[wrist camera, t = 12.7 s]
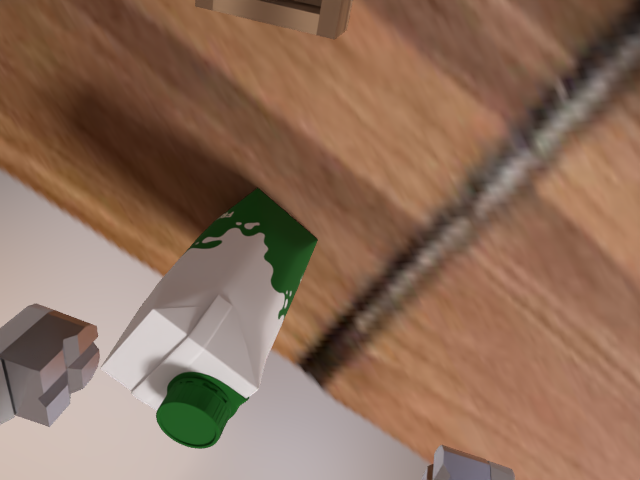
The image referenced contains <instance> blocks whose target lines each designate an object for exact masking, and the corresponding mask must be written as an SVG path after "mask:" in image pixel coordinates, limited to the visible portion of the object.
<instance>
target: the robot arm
mask: <svg viewBox="0 0 640 480" xmlns="http://www.w3.org/2000/svg"><path fill="white" fill-rule="evenodd" d="M97 337H98V333H97V326H95V325H92V324H90V323H87V322H84V321H82V320H79V319H77V318H74V317H71V316H69V315H66V314H63V313H60V312H58V311H55V310H53V309H50V308H47V307H44V306H41V305H39V304H33V305H30V306H28V307H26V308H25V309H24V310H22V311H21V312H20V313H19V314H17V315H16V316H15V317H14V318H13V319H11V320H10V321H9V322H7V323H6V324H5V325H4V326H2V327H1V328H0V424H3V423H5V422H7V421H9V420H10V419H12V418H14V417H15V416H14V415H16V416H19V417H22V418H25V419H28V420H31V421H34V422H37V423H40V424H43V425H46V426H48V427H50V426H51V425H52V424H53V422H54V421H55V420H56V419H57V418H58V417H59V416H60V414H61V413H62V412H63V411H64V410H65V409H66V408H67V406H68V405H69V404H70V395H71V393H73V392H76V391H78V390H81V389H83V388H84V387H85V386H86V385H87V383H88V382H89V381H90V380H91V378H92V376H93V375H94V373H95V371H96V369H97V367H98V363H99V358H100V355H99V349H98V348H97V346H96V345H95V344H94V342H93V341H94V340H95V339H96V338H97ZM422 480H515V474H514V472H513V470H512V469H510V468H508V467H505V466H502V465H499V464H496V463H493V462H490V461H487V460H486V459H483V458H480V457H477V456H474V455H471V454H468V453H465V452H462V451H459V450H456V449H453V448H450V447H447V446H444V445H441V446H439V447H438V449H437V450H436V452H435V454H434V464H432V465H429V466H427V469H426V470H425V473H424V475H423V477H422Z"/></svg>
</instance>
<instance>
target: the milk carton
mask: <svg viewBox="0 0 640 480" xmlns="http://www.w3.org/2000/svg"><path fill="white" fill-rule="evenodd" d="M317 241H318V239H317V238H315V237H314V236H313V235H312V234H311V233H310V232H308V231H307V230H306V229H305V228H304V227H303V226H301V225H300V224H299V223H298V222H297V221H296V220H294V219H293V218H292V217H291V216H290V215H289V214H288V213H286V212H285V211H284V210H283V209H282V208H281V207H279V206H278V205H277V204H276V203H275V202H274V201H272V200H271V199H270V198H269V197H268V196H267V195H265V194H264V193H263V192H262V191H261V190H260V189H258V188H257V189H256V190H254V191H253V192H252V193H250V194H249V195H248V196H247V197H245V198H244V199H243V200H241V201H240V202H239V203H237V204H236V205H235V206H233V207H232V208H231V209H229V210H228V211H227V212H226V213H224V214H223V215H222V216H220V217H219V218H218V219H217V220H215V221H214V222H213V223H212V224H211V225H210V226H209V227H208V228H207V229H206V230H205V231H204V232H203V233H202V234H201V235H200V236H199V237H198V238H197V240H196V241H195V242H194V243H193V244H192V245H191V246H190V248H189V249H188V250H187V251H186V252H185V253H184V254H183V255H182V257H181V258H180V259H179V260H178V261H177V262H176V263H175V265H174V266H173V267H172V268H171V269H170V270H169V271H168V273H167V274H166V275H165V276H164V277H163V278H162V279H161V281H160V282H159V283H158V284H157V286H156V287H155V289H154V290H153V291H152V293H151V294H150V295H149V297H148V298H147V299H146V301H145V302H144V303H143V304H142V306H141V307H140V308H139V310H138V311H137V313H136V315H135V316H134V318H133V319H132V321H131V322H130V324H129V325H128V327H127V328H126V330H125V332H124V333H123V334H122V336H121V338H120V339H119V341H118V342H117V344H116V345H115V347H114V348H113V350H112V351H111V353H110V355H109V356H108V358H107V359H106V360H105V362H104V363H103V365H102V366H101V368H100V369H101V370H103V371H104V372H105V373H107V374H108V375H109V376H111V377H112V378H114V379H115V380H117V381H118V382H119V383H121V384H122V385H124V386H125V387H126V388H128V389H129V390H131V391H132V392H131V394H132V395H133V396H134V397H136V398H137V399H138V400H140V401H141V402H143V403H145V404H147V405H149V406H150V407H152V408H153V409H154V410H156V411H157V413H156V418H157V422H158V424H159V426H160V428H161V429H162V430H163V432H164V433H165V434H166V435H167V436H169V437H170V438H171V439H173V440H174V441H176V442H178V443H180V444H182V445H185V446H188V447H191V448H208V447H211V446H213V445H214V444H215V443H216V442H217V441H218V439H219V438H220V436H221V434H222V431H223V429H224V427H225V425H226V423H227V421H228V420H229V419H230V418H231V417H232V416H233V415H234V414H235V413H236V411H237V409H238V408H239V406H240V405H241V404H243V403H244V402H246V401H247V400H248V399H249V396H250V395H252V394H253V393H255V392H256V391H257V390H258V389H259V386H260V382H261V378H262V374H263V370H264V366H265V362H266V359H267V356H268V354H269V352H270V350H271V347H272V345H273V343H274V341H275V338H276V336H277V334H278V332H279V329H280V327H281V325H282V323H283V320H284V318H285V316H286V314H287V311H288V309H289V307H290V305H291V302H292V300H293V298H294V295H295V293H296V291H297V289H298V286H299V284H300V282H301V279H302V277H303V275H304V272H305V270H306V267H307V265H308V262H309V260H310V257H311V255H312V253H313V250H314V248H315V245H316V243H317Z"/></svg>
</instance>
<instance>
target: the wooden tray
mask: <svg viewBox="0 0 640 480" xmlns="http://www.w3.org/2000/svg"><path fill="white" fill-rule="evenodd" d="M352 1H353V0H196V3H195V6H196V7H200V8H205V9H209V10H213V11H217V12H221V13H226V14H230V15H234V16H238V17H242V18H247V19H251V20H255V21H259V22H263V23H268V24H272V25H276V26H280V27H284V28H289V29H293V30H297V31H301V32H305V33H310V34H314V35H318V36H322V37H326V38H331V39H336V38H337V37H338V36H340V35H341V34H342V33H344V32H345V31H346V30H347V26H348V21H349V16H350V11H351V6H352Z"/></svg>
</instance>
